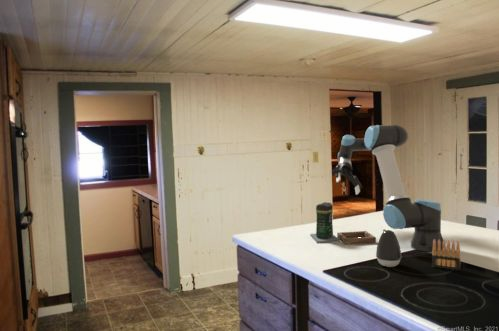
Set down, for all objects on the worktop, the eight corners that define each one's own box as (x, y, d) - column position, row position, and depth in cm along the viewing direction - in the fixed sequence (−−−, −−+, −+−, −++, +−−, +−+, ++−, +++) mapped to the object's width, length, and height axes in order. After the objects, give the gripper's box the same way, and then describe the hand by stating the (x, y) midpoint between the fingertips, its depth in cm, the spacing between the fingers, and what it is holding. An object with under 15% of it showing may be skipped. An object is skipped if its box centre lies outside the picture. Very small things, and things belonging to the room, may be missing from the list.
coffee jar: (328, 239, 216) (327, 204, 215) (314, 238, 221) (313, 203, 219) (335, 235, 224) (334, 201, 223) (321, 234, 229) (321, 200, 227)
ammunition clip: (460, 269, 168) (460, 240, 167) (460, 270, 166) (460, 241, 165) (432, 266, 173) (432, 238, 173) (431, 267, 172) (431, 239, 171)
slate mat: (339, 241, 215) (339, 240, 215) (317, 243, 214) (317, 241, 214) (331, 234, 231) (331, 232, 231) (310, 235, 230) (310, 233, 230)
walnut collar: (375, 243, 211) (375, 237, 210) (345, 244, 209) (345, 239, 209) (366, 236, 225) (366, 231, 224) (337, 238, 223) (337, 232, 223)
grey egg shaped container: (395, 260, 182) (395, 226, 180) (405, 268, 171) (405, 232, 170) (372, 261, 181) (372, 227, 180) (381, 269, 171) (380, 233, 170)
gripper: (357, 181, 252) (361, 202, 234) (324, 161, 247) (326, 180, 229) (365, 173, 248) (370, 193, 230) (332, 152, 243) (334, 171, 225)
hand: (348, 187), depth 230 cm, fingers open, 13 cm apart
